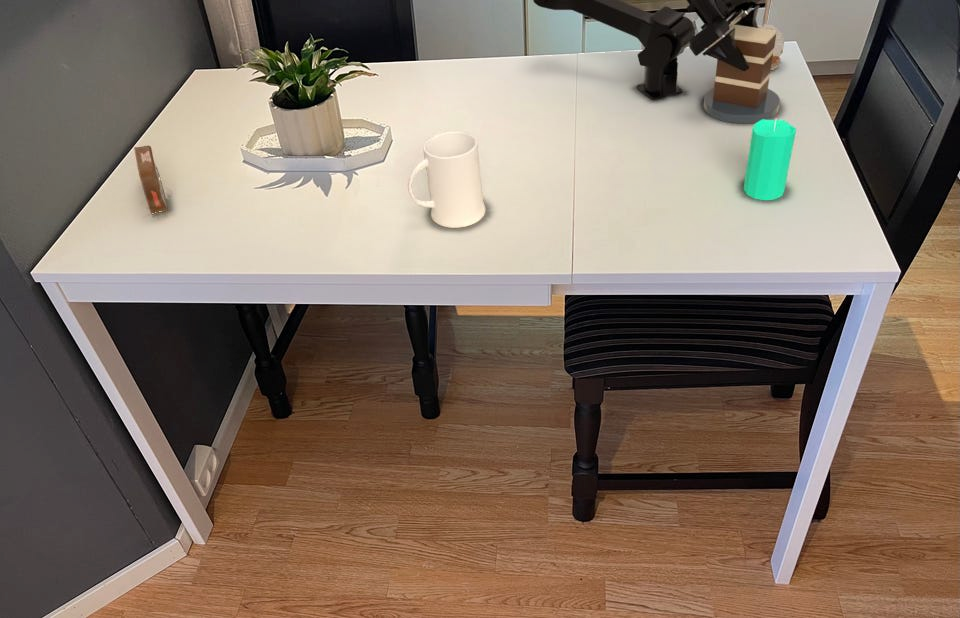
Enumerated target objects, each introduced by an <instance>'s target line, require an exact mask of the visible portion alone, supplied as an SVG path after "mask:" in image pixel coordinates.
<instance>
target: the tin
mask: <svg viewBox="0 0 960 618" xmlns="http://www.w3.org/2000/svg"><path fill="white" fill-rule="evenodd" d="M153 154H154V153H153V149H152V146H151V145H143V146H142V145H141V146H134V155H135V161H136V167H137V172H138V176H139V179H140V183H141V186H142V191H143V193H144V197H145V200H146V203H147V205H148V208H149V211H150V214H151V215H154V214H155V215H156V213H155V212H158V213H157V214H159V213H164V212H166V211H167V210H168V204H167V200H166V194H165V191H164V187H163V183H162V179H161V180H159V177H160V178H161V176H160V173H159V170H158V167H157V165H156V163H155V159H154V155H153ZM166 209H167V210H166ZM164 210H165V211H164ZM159 211H162V212H159ZM152 213H154V214H152Z"/></svg>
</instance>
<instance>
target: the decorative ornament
mask: <svg viewBox="0 0 960 618" xmlns="http://www.w3.org/2000/svg"><path fill="white" fill-rule="evenodd" d="M770 5H771V0H765V5H764V10H763V11H764V12H763V18H762V23H761V24H757V26H758V28H761V29H768V30H775V31H777V33H776V39H775V46H774V52H773V58H772V65H771V71H773V70H776V68H779V66H780V65H781V64H782V61H781V58H780V57H781V55H782V54H783V52H784V46H785V39H784V38H783V33H782V32H781V31H780V30H779V29H778V28H777V27H776V26H774V25H772V24H769V23H768V19H769V13H770Z"/></svg>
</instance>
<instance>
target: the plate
mask: <svg viewBox="0 0 960 618" xmlns="http://www.w3.org/2000/svg"><path fill="white" fill-rule="evenodd" d="M713 95H714V87H713V88H711V89H709V90H708V91H707V92H706V93H705V95H704V97H703V106H702V107H703V110H704V111H705V113H707V115H709V116H710V117H712V118H714V119H716V120H719V121H722V122H726V123H731V124H755V123H757V122H758V121H760V120H762V119H765V120H771V119H772V118H774V117H775V116H776V115H777V113H778V112H779V109H780V102H781V99H780V97H779V95H778V94H777V93H776V92H775V91H773V90H772V89H770V88H768V90H767V97H766V98H765V99H764V100H763V101H762V103H761V104H760V105H759V106H758V107H757V108H753V107H747V106H742V105H737V104H732V103H726V102H721V101H716V100H713Z"/></svg>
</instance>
